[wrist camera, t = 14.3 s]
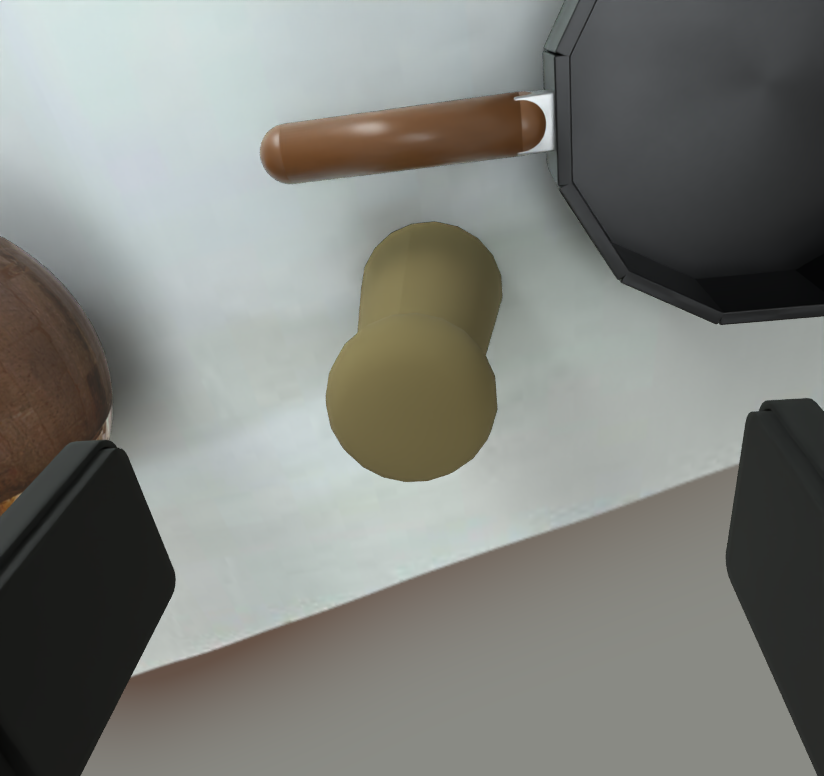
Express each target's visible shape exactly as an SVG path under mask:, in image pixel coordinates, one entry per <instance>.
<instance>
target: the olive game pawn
mask: <svg viewBox="0 0 824 776" xmlns="http://www.w3.org/2000/svg"><path fill="white" fill-rule="evenodd" d="M501 300H502V281H501V274H500V271H499V269H498V267H497V264H496V262H495V260H494V257H493V255H492V254H491V253H490V252H489V250H488V249H487V248H486V247H485V246H484V245H483V244H482V242H481V241H480V240H479V239H478V238H477V237H475V236H473V235H471V234H470V233H468V232H466V231H465V230H463V229H461V228H459V227H458V226H453V225H448V224H444V223H439V222H426V223H416V224H411V225H408V226H406V227H404V228H402V229H399V230H397V231H395V232H393V233H391V234H390V235H389V236H388V237H386V238H385V239H384V240H383V241H382V242H381V243H380V244H379V245H378V246H377V247H376V248H375V249H374V251H373V253H372V254H371V256H370V258H369V260H368V262H367V264H366V266H365V268H364V275H363V281H362V287H361V298H360V310H359V321H358V333H357V334H356V335H355V336H354V337H353V338H351V339H350V340H349V341H348V342H347V343H346V344H345V345H344V346H343V348H342V350H341V352H340V354H339V355H338V357H337V359H336V361H335V363H334V364H333V366H332V368H331V371H330V373H329V378H328V384H327V391H326V407H327V412H328V416H329V421H330V426H331V429H332V431H333V432H334V434H335V436H336V437H337V439H338V441H339V442H340V444H341V446H342V447H343V449H344V450H345V451H346V452H347V453H348V454H349V455H350V456H352V457H353V458H354V459H355V460H356V461H357V462H358V463H359V464H360V465H361V466H363V467H364V468H366V469H368V470H370V471H372V472H374V473H376V474H378V475H380V476H382V477H384V478H389V479H394V480H399V481H403V482H415V481H429V480H432V479H435V478H438V477H441V476H445V475H448V474H450V473H452V472H454V471H456V470H457V469H459V468H460V467H461V466H463V465H464V464H466V463H467V462H469V461H470V460H472V459H473V458H474V457H475V455H476V454H477V453H478V451H479V450H480V449H481V447H482V446H483V445H484V443H485V442H486V441H487V439H488V437H489V435H490V432H491V429H492V426H493V423H494V419H495V416H496V413H497V396H496V382H495V375H494V373H493V371H492V369H491V366H490V364H489V362H488V360H487V357H486V353H487V349H488V346H489V342H490V339H491V335H492V332H493V329H494V325H495V322H496V318H497V315H498V311H499V307H500V304H501Z"/></svg>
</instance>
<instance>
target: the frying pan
mask: <svg viewBox="0 0 824 776" xmlns="http://www.w3.org/2000/svg"><path fill="white" fill-rule="evenodd" d="M544 49H545V50H547V51H544V52H543V73H544V90H539V91H532V92H526V91H518V92H511V93H504V94H496V95H489V96H482V97H475V98H467V99H460V100H453V101H445V102H438V103H431V104H424V105H416V106H409V107H402V108H395V109H387V110H380V111H373V112H366V113H358V114H351V115H344V116H336V117H329V118H322V119H315V120H307V121H300V122H293V123H286V124H281V125H277V126H275V127H273V128H272V129H271V130H269V131H268V132H267V133H266V135H265V136H264V138H263V140H262V142H261V147H260V158H261V162H262V165H263V167H264V168H265V170H266V172H267V173H268V174H269V175H270V176H271V177H272V178H274V179H275V180H277V181H279V182H281V183H285V184H298V183H306V182H314V181H322V180H330V179H339V178H347V177H355V176H363V175H371V174H379V173H387V172H395V171H403V170H411V169H419V168H427V167H435V166H444V165H452V164H460V163H468V162H476V161H484V160H492V159H500V158H508V157H516V156H524V155H528V154H534V153H543V152H546V153H547V164H548V166H549V167H548V168H549V170H550V172H551V174H552V176H553V179H554V181H555V183H556V185H557V187H558V189H559V191H560V192H561V194H562V195H563V197H564V199H565V200H566V202H567V203H568V205H569V206H570V208H571V209H572V211H573V212H574V214H575V215H576V217H577V218H578V220H579V221H580V223H581V225H582V226H583V228H584V229H585V231H586V232H587V234H588V235H589V237H590V238H591V240H592V241H593V243H594V244H595V246H596V248H597V249H598V251H599V252H600V254H601V255H602V257H603V258H604V260H605V261H606V263H607V264H608V266H609V267H610V269H611V270H612V272H613V274H614V275H615V277H616V278H617V279H618V280H620V282H621V283H623V284H625V285H628V286H630V287H632V288H635V289H637V290H639V291H641V292H644V293H646V294H648V295H650V296H653V297H655V298H657V299H660V300H662V301H664V302H666V303H669V304H671V305H673V306H675V307H678V308H680V309H682V310H685V311H687V312H689V313H691V314H694V315H696V316H698V317H701V318H703V319H705V320H707V321H710V322H712V323H714V324H718V323H719V324H720V325H726V324H738V323H750V322H762V321H773V320H785V319H797V318H809V317H821V316H824V0H565V2H564V4H563V6H562V8H561V10H560V13H559V15H558V17H557V19H556V21H555V24H554V26H553V28H552V30H551V32H550V35H549V37H548V39H547V41H546V43H545V46H544Z"/></svg>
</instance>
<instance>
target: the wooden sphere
mask: <svg viewBox="0 0 824 776" xmlns="http://www.w3.org/2000/svg"><path fill="white" fill-rule="evenodd" d="M112 418H113V394H112V384H111V378H110V372H109V368H108V364H107V360H106V357H105V354H104V351H103V348H102V345H101V343H100V340H99V338H98V336H97V334H96V332H95V330H94V328H93V326H92V324H91V322H90V320H89V319H88V317H87V315H86V314H85V312H84V311H83V309H82V308H81V306H80V305H79V303H78V302H77V301H76V299H75V298H74V297H73V296H72V294H71V293H70V292H69V291H68V290H67V288H66V287H65V286H64V285H63V284H62V283H61V282H60V281H59V280H58V279H57V278H56V277H55V276H54V275H53V274H52V273H51V272H50V271H49V270H48V269H47V268H46V267H44V266H43V265H42V264H41V263H40V262H38V261H37V260H36V259H35V258H33V257H32V256H31V255H29V254H28V253H27V252H25V251H24V250H22V249H21V248H19V247H18V246H16V245H15V244H13V243H12V242H10V241H8V240H7V239H5V238H3V237H1V236H0V516H1V515H2V514H3V513H4V512H5V511H6V510H7V509H8V508H9V507H10V505H11V504H12V503H13V502H14V501H15V500H16V499H17V498H18V497H19V496H20V495H21V494H22V492H23V491H24V490H25V489H26V488H27V487H28V486H29V485H30V484H31V483H32V482H33V481H34V479H35V478H36V477H37V476H38V475H39V474H40V473H41V472H42V471H43V470H44V469H45V468H46V467H47V465H48V464H49V463H50V462H51V461H52V460H53V459H54V458H55V457H56V456H57V455H58V454H59V452H60V451H61V450H62V449H63V448H64V447H65V446H66V445H68V444H69V443H71V442H75V441H92V440H110V435H111V428H112Z"/></svg>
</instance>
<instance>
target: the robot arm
mask: <svg viewBox="0 0 824 776" xmlns="http://www.w3.org/2000/svg"><path fill="white" fill-rule="evenodd" d="M726 566H727V572H728V576H729V578H730V581H731V583H732V586H733V588H734V590H735V592H736V595H737V597H738V599H739V601H740V603H741V606H742V608H743V610H744V612H745V614H746V617H747V619H748V621H749V624H750V626H751V628H752V630H753V632H754V635H755V637H756V639H757V641H758V643H759V646H760V648H761V650H762V652H763V655H764V657H765V659H766V662H767V664H768V666H769V668H770V671H771V672H772V675H773V677H774V679H775V682H776V684H777V686H778V688H779V691H780V693H781V694H782V697H783V699H784V702H785V704H786V706H787V708H788V711H789V713H790V715H791V717H792V720H793V722H794V724H795V726H796V729H797V731H798V733H799V735H800V738H801V740H802V742H803V744H804V746H805V748H806V751H807V753H808V755H809V758H810V760H811V762H812V764H813V767H814V769H815V771H816V773H817V776H824V411H823V410H822V409H821V408H820V407H819V405H818V404H817V403H816V402H815V401H813V400H812V399H809V398H802V399H785V400H768V401H765V402H763V403H762V405H761V407H760V410H759V411H756V412H750V413H749V414H748V416H747V419H746V423H745V430H744V437H743V443H742V450H741V456H740V463H739V470H738V476H737V484H736V490H735V496H734V503H733V510H732V517H731V523H730V530H729V536H728V543H727V549H726ZM175 580H176V579H175V572H174V569H173V566H172V564H171V561H170V559H169V556H168V554H167V551H166V549H165V547H164V544H163V542H162V539H161V537H160V534H159V532H158V529H157V527H156V524H155V522H154V519H153V517H152V515H151V512H150V510H149V507H148V505H147V502H146V500H145V497H144V495H143V492H142V490H141V487H140V485H139V483H138V480H137V478H136V475H135V473H134V470H133V468H132V465H131V463H130V460H129V458H128V456H127V454H126V452H125V451H124V450H123V449H120V448H117V447H116V445H115V444H114V443H113V442H112V441H109V440H92V441H75V442H71V443H69V444H68V445H66V446H65V447H64V448H63V449H62V450H61V451H60V452H59V454H58V455H57V456H56V457H55V458H54V459H53V460H52V461H51V462H50V463H49V464H48V465H47V467H46V468H45V469H44V470H43V471H42V472H41V473H40V474H39V475H38V476H37V477H36V478H35V479H34V481H33V482H32V483H31V484H30V485H29V486H28V487H27V488H26V489H25V490H24V491H23V492H22V494H21V495H20V496H19V497H18V498H17V499H16V500H15V501H14V502H13V503H12V504H11V505H10V507H9V508H8V509H7V510H6V511H5V512H4V513H3V514H2V515H1V516H0V776H80V775H81V774H82V772H83V770H84V767H85V766H86V764H87V762H88V760H89V758H90V756H91V754H92V752H93V750H94V748H95V746H96V744H97V742H98V740H99V738H100V736H101V734H102V732H103V730H104V728H105V726H106V724H107V722H108V721H109V719H110V716H111V715H112V713H113V711H114V709H115V707H116V705H117V703H118V701H119V699H120V697H121V695H122V693H123V691H124V689H125V687H126V685H127V683H128V681H129V679H130V677H131V675H132V673H133V671H134V669H135V668H136V666H137V664H138V662H139V660H140V658H141V656H142V654H143V652H144V650H145V648H146V646H147V644H148V642H149V640H150V638H151V636H152V634H153V632H154V630H155V628H156V626H157V624H158V622H159V620H160V618H161V616H162V615H163V613H164V611H165V609H166V607H167V605H168V603H169V601H170V599H171V597H172V595H173V592H174V588H175Z"/></svg>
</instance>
